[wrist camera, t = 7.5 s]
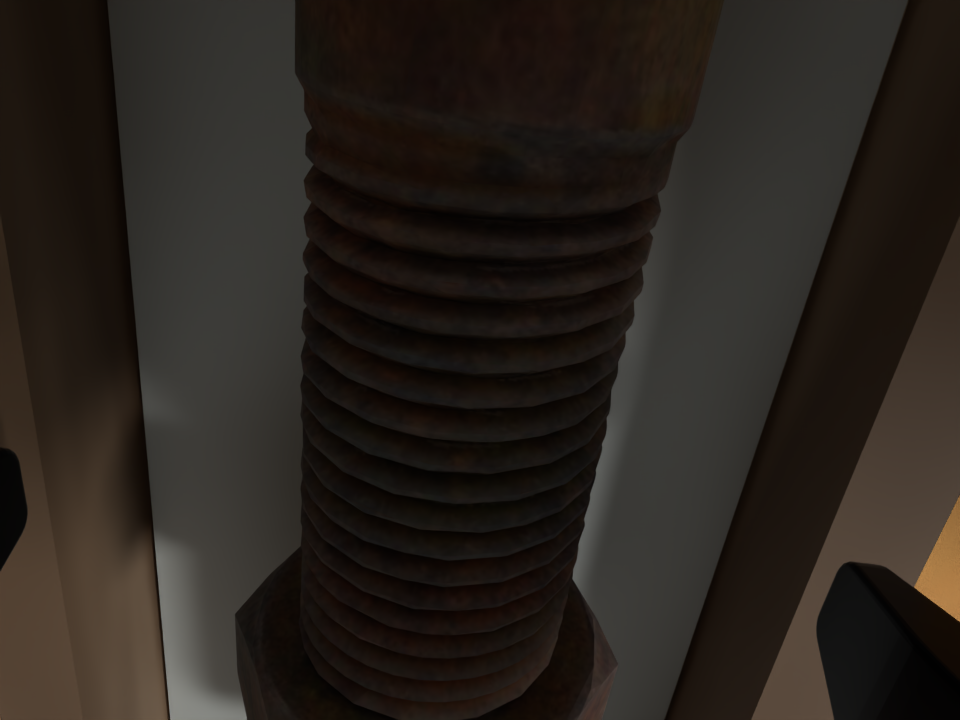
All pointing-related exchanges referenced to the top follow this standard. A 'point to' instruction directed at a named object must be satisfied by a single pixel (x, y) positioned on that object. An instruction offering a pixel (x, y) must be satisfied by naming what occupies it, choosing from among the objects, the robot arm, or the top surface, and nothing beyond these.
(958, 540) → the top surface
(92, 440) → the wooden tray
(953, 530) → the top surface
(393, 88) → the bolt
